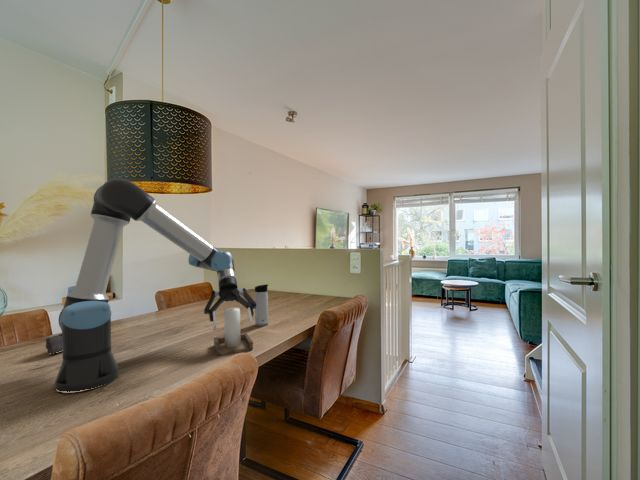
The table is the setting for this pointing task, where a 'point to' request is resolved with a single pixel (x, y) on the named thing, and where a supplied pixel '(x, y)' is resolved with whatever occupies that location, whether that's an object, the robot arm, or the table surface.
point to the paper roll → (232, 327)
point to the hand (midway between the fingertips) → (233, 325)
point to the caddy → (245, 345)
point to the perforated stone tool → (54, 344)
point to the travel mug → (261, 305)
